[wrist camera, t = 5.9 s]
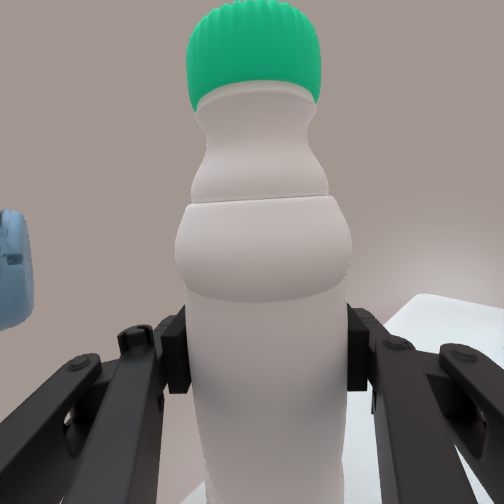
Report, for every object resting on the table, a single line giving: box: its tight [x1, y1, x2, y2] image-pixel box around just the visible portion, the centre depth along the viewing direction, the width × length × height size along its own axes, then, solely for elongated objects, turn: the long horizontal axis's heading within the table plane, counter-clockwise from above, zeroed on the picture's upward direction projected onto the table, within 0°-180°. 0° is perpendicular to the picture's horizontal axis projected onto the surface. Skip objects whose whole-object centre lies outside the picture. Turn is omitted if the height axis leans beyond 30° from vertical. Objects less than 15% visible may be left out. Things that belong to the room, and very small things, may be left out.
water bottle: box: [175, 0, 352, 504], centre depth 11 cm, size 7×7×25 cm
